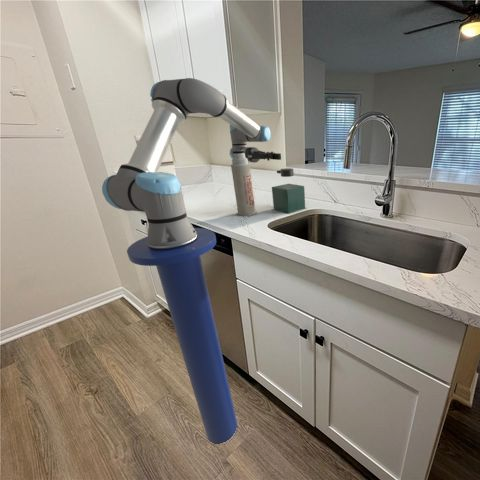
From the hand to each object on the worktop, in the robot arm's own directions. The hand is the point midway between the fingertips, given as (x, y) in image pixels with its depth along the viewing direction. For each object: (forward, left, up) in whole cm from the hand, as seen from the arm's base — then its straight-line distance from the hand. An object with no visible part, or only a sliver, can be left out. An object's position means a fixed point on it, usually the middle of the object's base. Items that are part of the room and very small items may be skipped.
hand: (279, 156), depth 122 cm
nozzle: (+3, -1, -8) cm, 9 cm away
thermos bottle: (-11, -15, -25) cm, 31 cm away
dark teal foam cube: (+4, -1, -24) cm, 25 cm away
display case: (-76, -8, -25) cm, 80 cm away
